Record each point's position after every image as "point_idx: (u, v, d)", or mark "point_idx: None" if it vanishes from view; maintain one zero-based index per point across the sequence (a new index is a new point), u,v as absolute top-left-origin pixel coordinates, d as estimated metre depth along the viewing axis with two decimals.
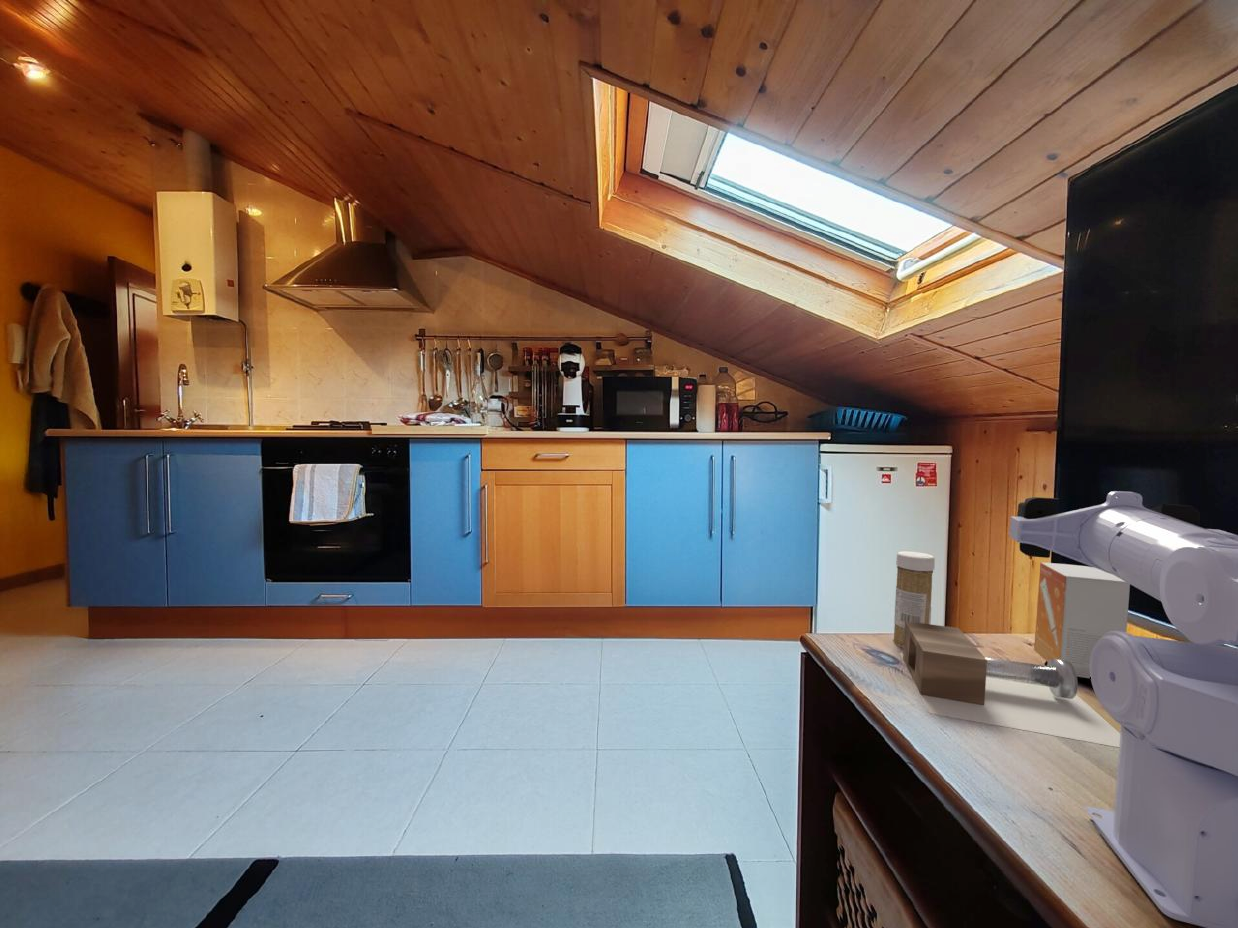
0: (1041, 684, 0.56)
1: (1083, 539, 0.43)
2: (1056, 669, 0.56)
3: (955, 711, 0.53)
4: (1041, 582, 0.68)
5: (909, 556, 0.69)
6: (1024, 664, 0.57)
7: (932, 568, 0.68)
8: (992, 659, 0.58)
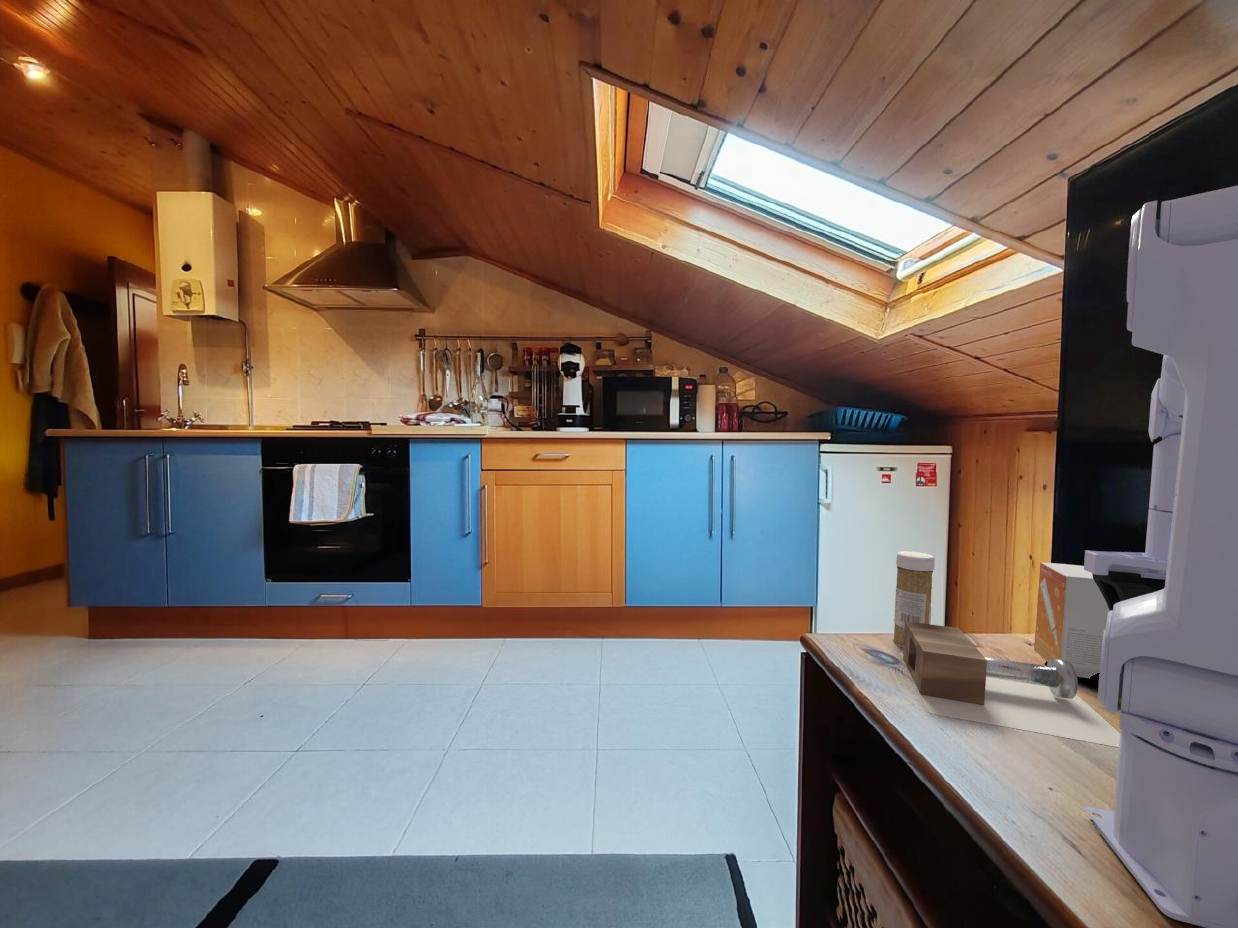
0: (1041, 684, 0.56)
1: (1151, 550, 0.46)
2: (1056, 669, 0.56)
3: (955, 711, 0.53)
4: (1041, 583, 0.68)
5: (909, 556, 0.69)
6: (1024, 664, 0.57)
7: (932, 568, 0.68)
8: (992, 659, 0.58)
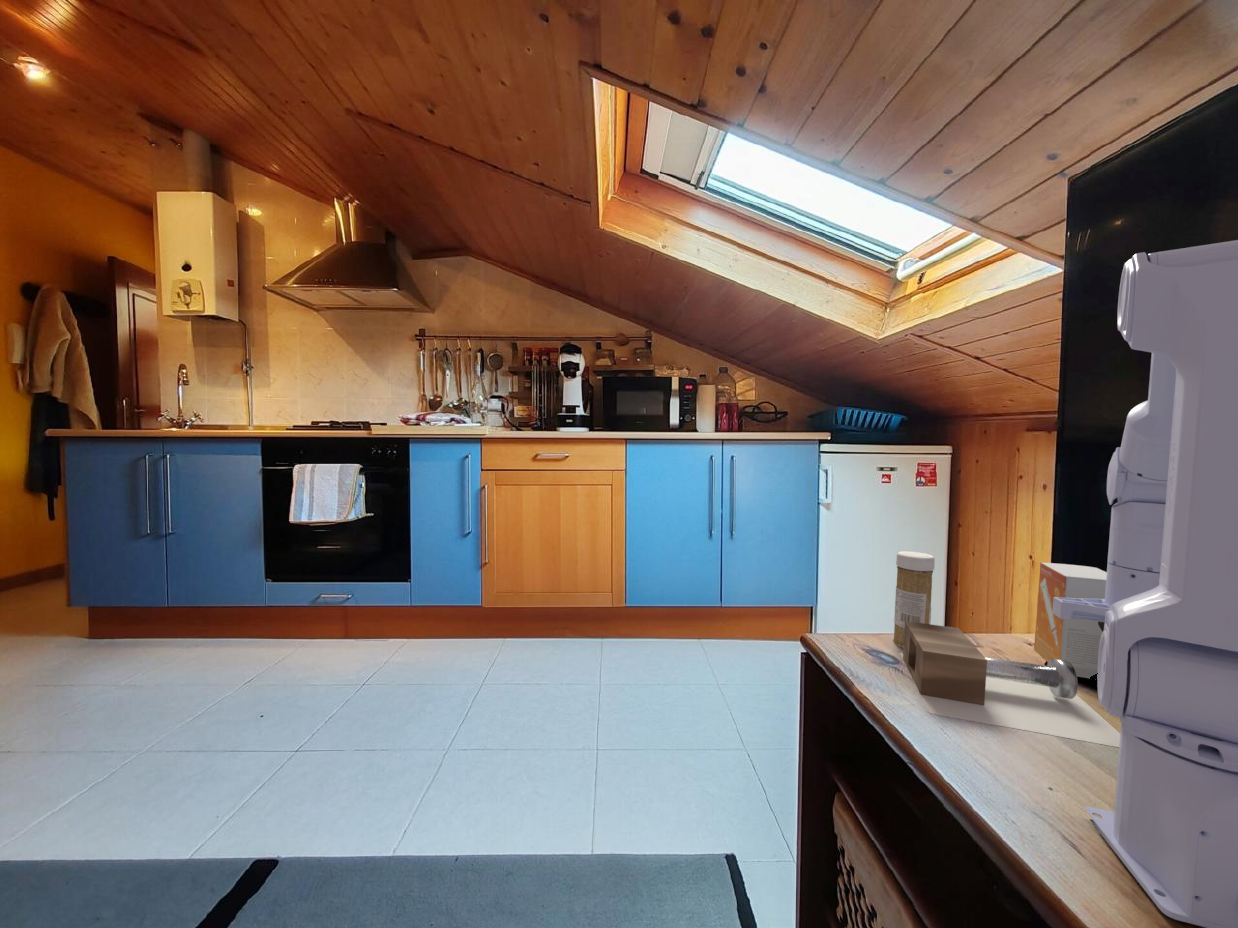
0: (1041, 684, 0.56)
1: (1109, 599, 0.54)
2: (1056, 669, 0.56)
3: (955, 711, 0.53)
4: (1041, 582, 0.68)
5: (909, 556, 0.69)
6: (1024, 664, 0.57)
7: (932, 568, 0.68)
8: (992, 659, 0.58)
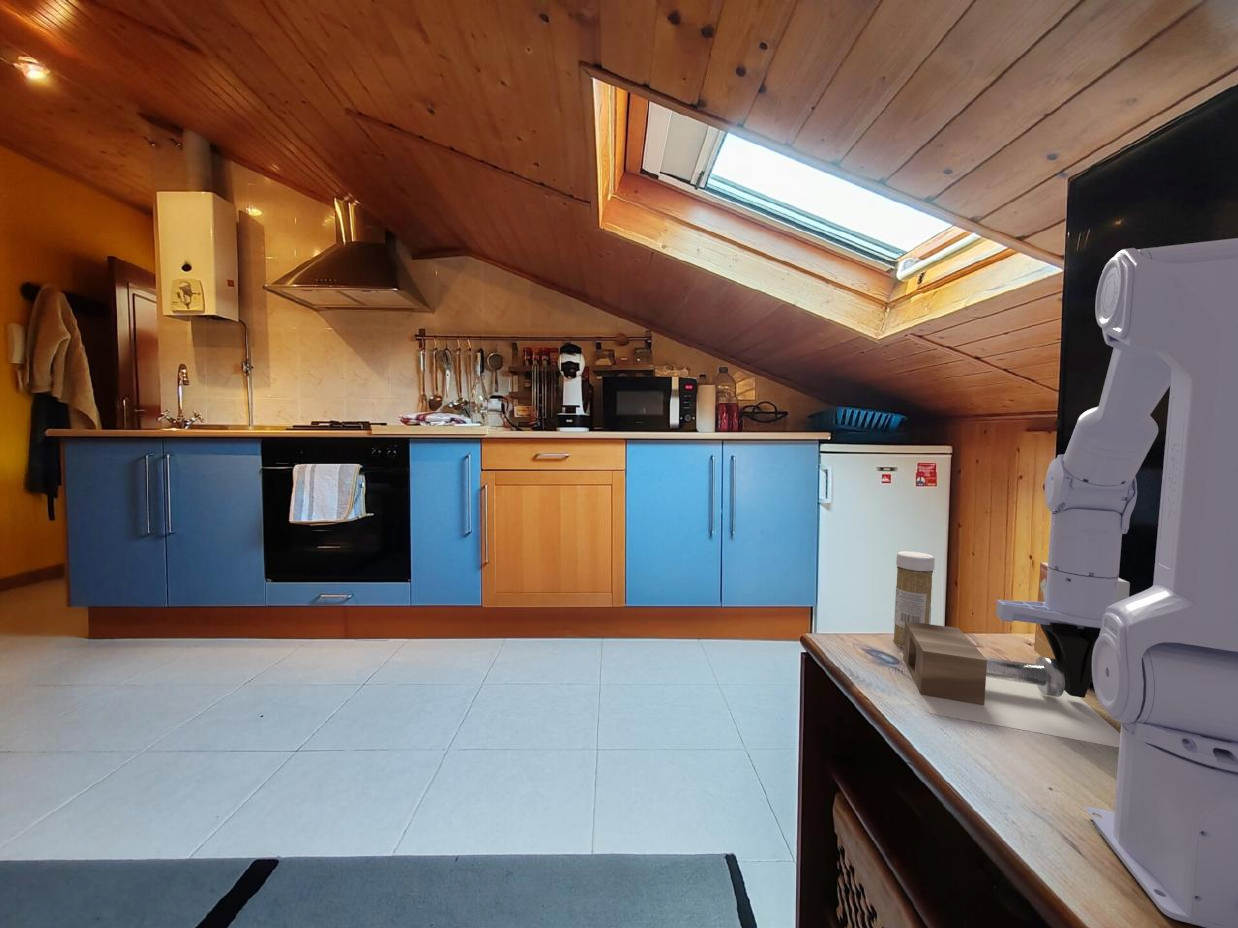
0: (1029, 682, 0.56)
1: (1048, 602, 0.56)
2: (1044, 667, 0.56)
3: (955, 711, 0.53)
4: (1041, 583, 0.68)
5: (909, 556, 0.69)
6: (1012, 662, 0.57)
7: (932, 568, 0.68)
8: None
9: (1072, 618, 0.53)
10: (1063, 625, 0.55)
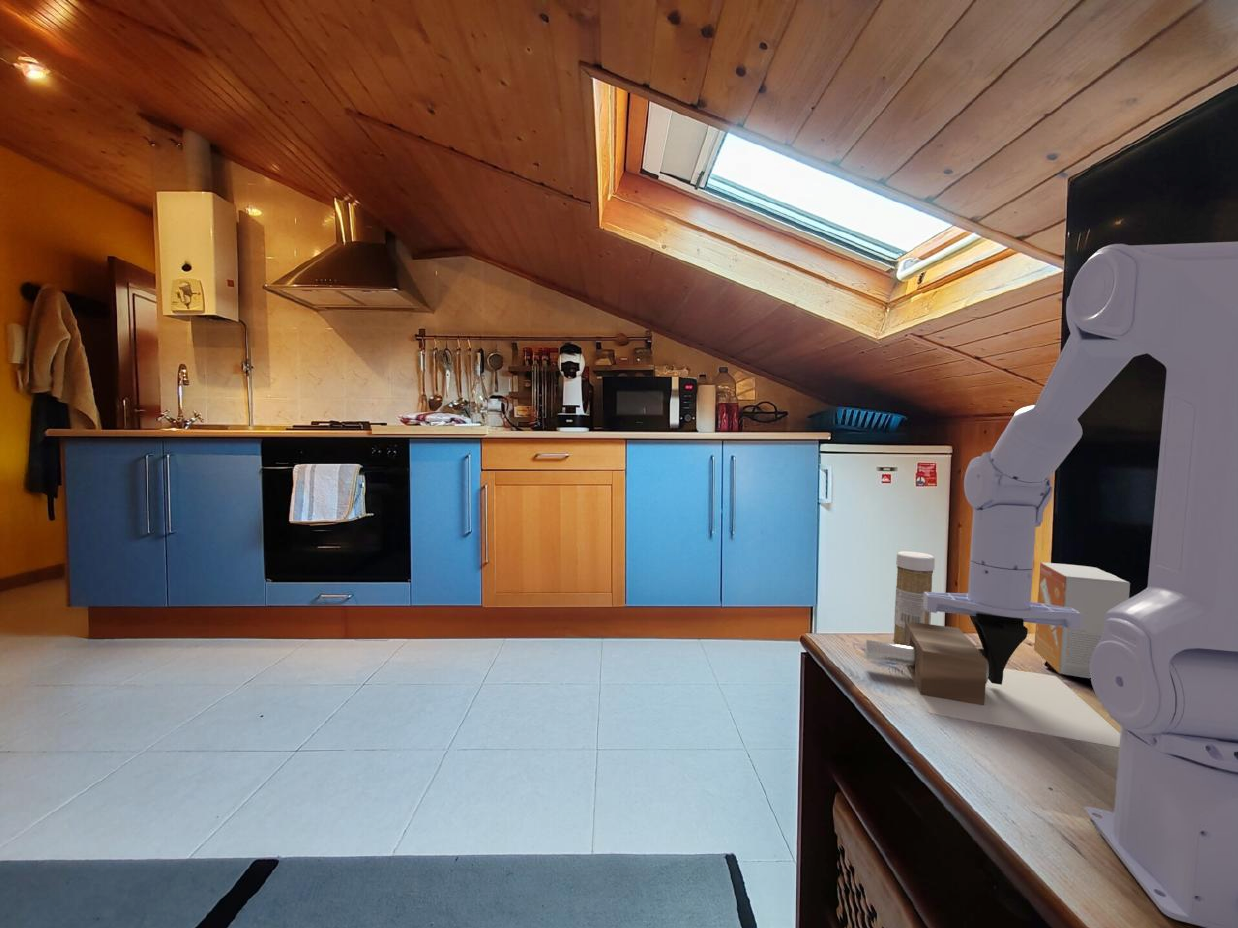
0: None
1: (969, 593, 0.58)
2: None
3: (955, 711, 0.53)
4: (1041, 582, 0.68)
5: (909, 556, 0.69)
6: None
7: (932, 568, 0.68)
8: (913, 647, 0.60)
9: (989, 608, 0.56)
10: (983, 615, 0.57)
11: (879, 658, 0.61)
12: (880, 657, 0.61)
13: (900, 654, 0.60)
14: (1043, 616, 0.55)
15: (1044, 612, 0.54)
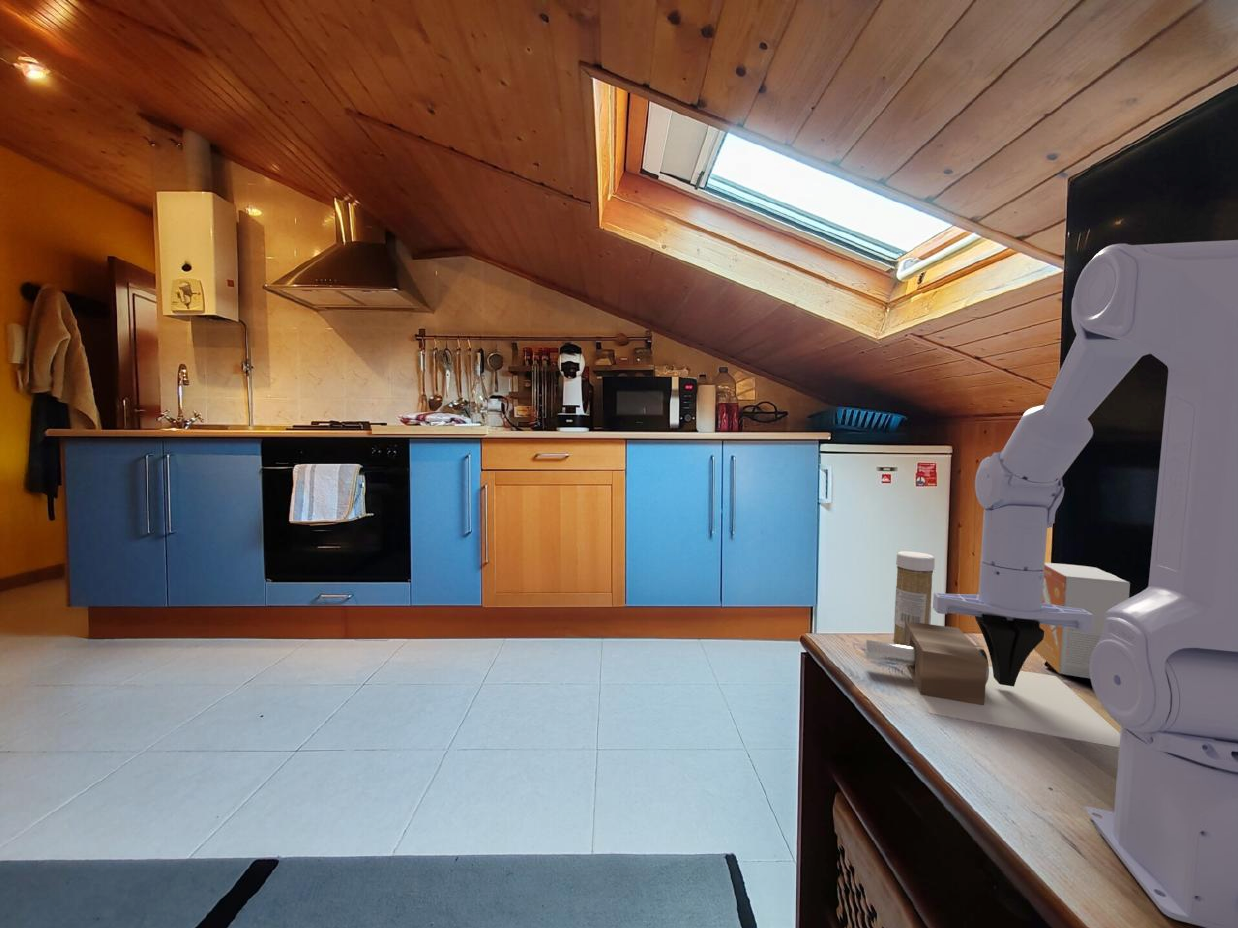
0: None
1: (980, 594, 0.58)
2: None
3: (955, 711, 0.53)
4: None
5: (909, 556, 0.69)
6: None
7: (932, 568, 0.68)
8: (913, 647, 0.60)
9: (1000, 610, 0.55)
10: (994, 617, 0.57)
11: (879, 658, 0.61)
12: (880, 657, 0.61)
13: (900, 654, 0.60)
14: (1055, 617, 0.54)
15: (1056, 613, 0.54)
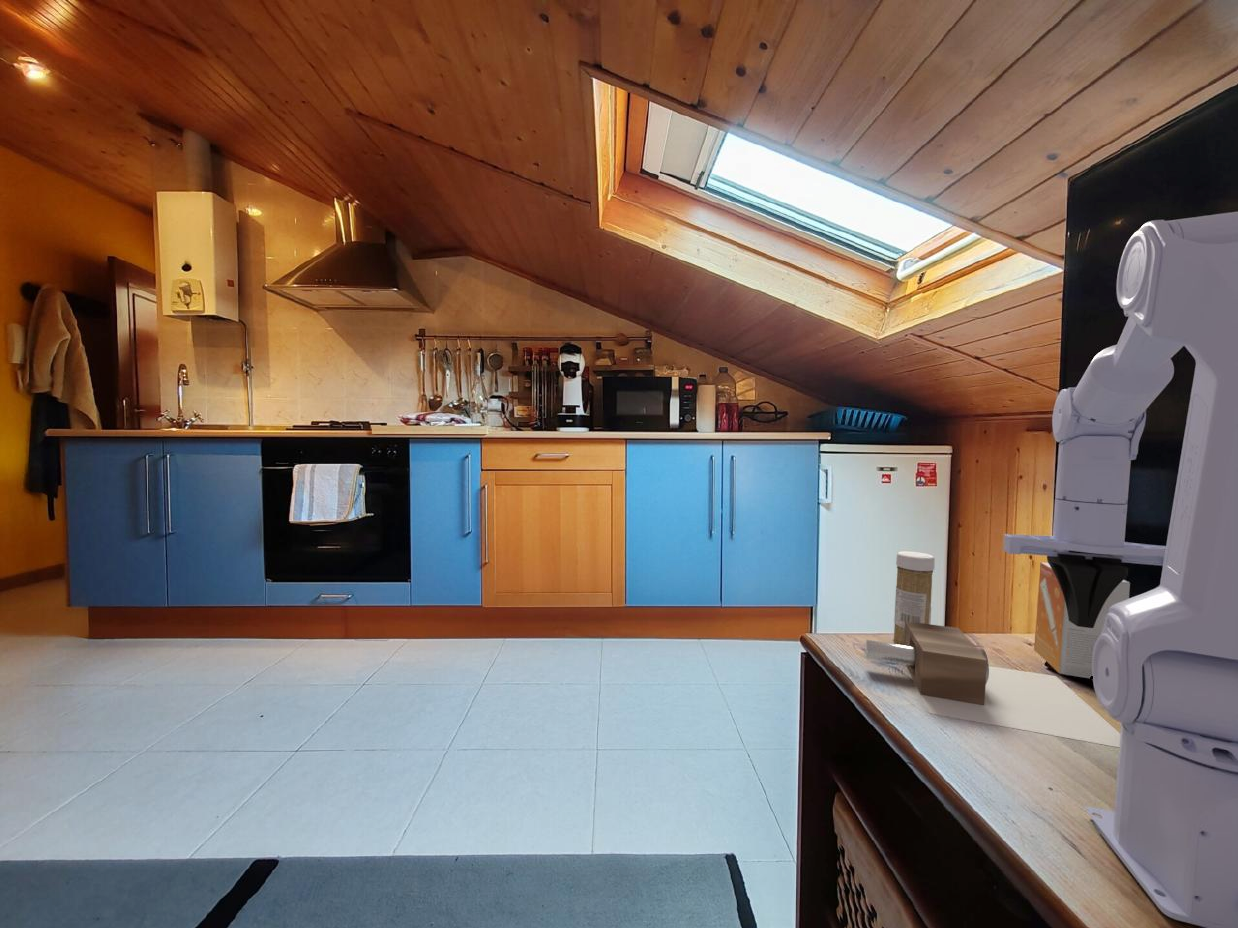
0: None
1: (1056, 533, 0.55)
2: None
3: (955, 711, 0.53)
4: (1041, 582, 0.68)
5: (909, 556, 0.69)
6: None
7: (932, 568, 0.68)
8: (913, 647, 0.60)
9: (1080, 546, 0.53)
10: (1071, 556, 0.54)
11: (879, 658, 0.61)
12: (880, 657, 0.61)
13: (900, 654, 0.60)
14: (1140, 553, 0.52)
15: (1141, 549, 0.52)
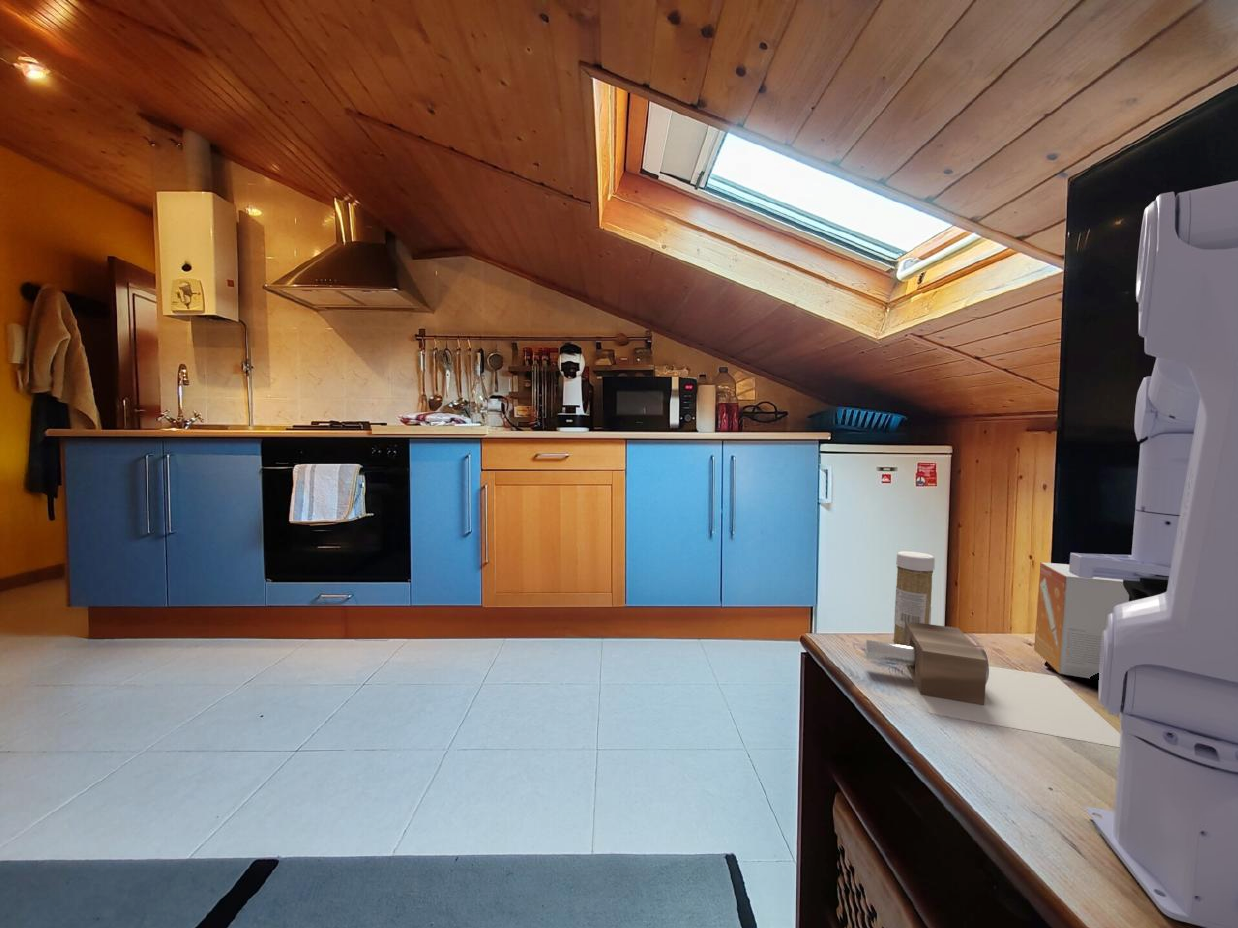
0: None
1: (1137, 553, 0.45)
2: None
3: (955, 711, 0.53)
4: (1041, 582, 0.68)
5: (909, 556, 0.69)
6: None
7: (932, 568, 0.68)
8: (913, 647, 0.60)
9: None
10: (1158, 581, 0.44)
11: (879, 658, 0.61)
12: (880, 657, 0.61)
13: (900, 654, 0.60)
14: None
15: None
